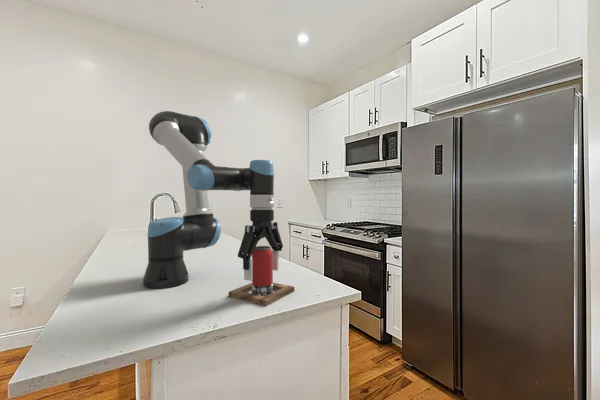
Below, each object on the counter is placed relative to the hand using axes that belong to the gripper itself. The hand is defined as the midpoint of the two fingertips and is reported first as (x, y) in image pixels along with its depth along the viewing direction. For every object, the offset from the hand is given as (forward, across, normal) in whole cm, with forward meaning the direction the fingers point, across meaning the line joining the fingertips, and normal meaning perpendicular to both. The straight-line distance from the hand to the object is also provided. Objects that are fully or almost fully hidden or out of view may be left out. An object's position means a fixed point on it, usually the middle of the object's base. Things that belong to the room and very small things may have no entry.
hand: (262, 274), depth 95 cm
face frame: (+6, 0, 0) cm, 6 cm away
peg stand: (+6, 0, 0) cm, 6 cm away
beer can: (+3, 0, 0) cm, 3 cm away
